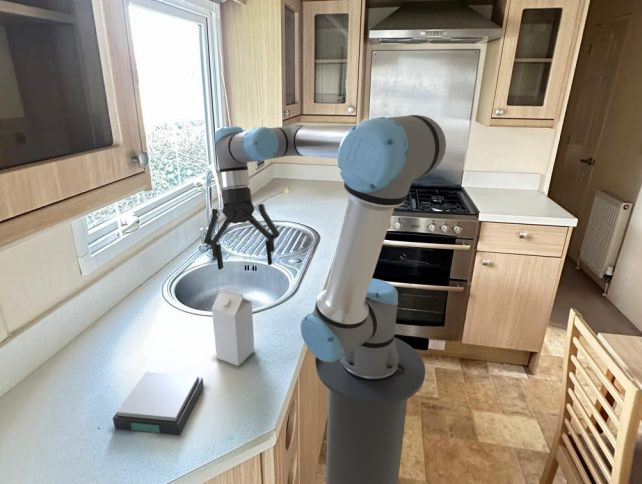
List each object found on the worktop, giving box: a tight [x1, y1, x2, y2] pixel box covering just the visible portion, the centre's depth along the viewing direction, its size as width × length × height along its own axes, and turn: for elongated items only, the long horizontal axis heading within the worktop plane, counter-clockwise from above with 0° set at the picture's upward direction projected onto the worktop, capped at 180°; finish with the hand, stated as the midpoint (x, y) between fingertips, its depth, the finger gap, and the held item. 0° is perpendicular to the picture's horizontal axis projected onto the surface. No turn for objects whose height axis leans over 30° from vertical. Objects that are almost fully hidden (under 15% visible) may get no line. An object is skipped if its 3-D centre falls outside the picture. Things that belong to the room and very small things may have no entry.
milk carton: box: [211, 287, 255, 367], centre depth 104 cm, size 7×7×19 cm
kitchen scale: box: [112, 371, 205, 437], centre depth 89 cm, size 14×14×4 cm
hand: (245, 266), depth 110 cm, fingers open, 13 cm apart
